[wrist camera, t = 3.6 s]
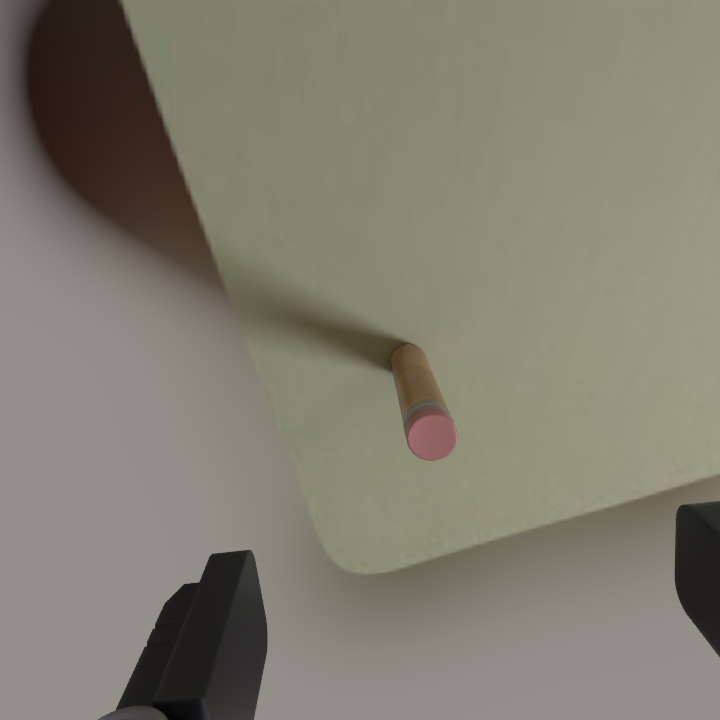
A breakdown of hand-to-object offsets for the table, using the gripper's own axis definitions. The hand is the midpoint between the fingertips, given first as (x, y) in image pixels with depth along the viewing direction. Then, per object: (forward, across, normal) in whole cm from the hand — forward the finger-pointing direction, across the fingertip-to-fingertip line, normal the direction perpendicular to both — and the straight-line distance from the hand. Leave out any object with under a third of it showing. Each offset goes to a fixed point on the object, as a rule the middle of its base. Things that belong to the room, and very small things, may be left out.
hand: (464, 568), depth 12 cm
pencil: (+17, 0, +1) cm, 17 cm away
